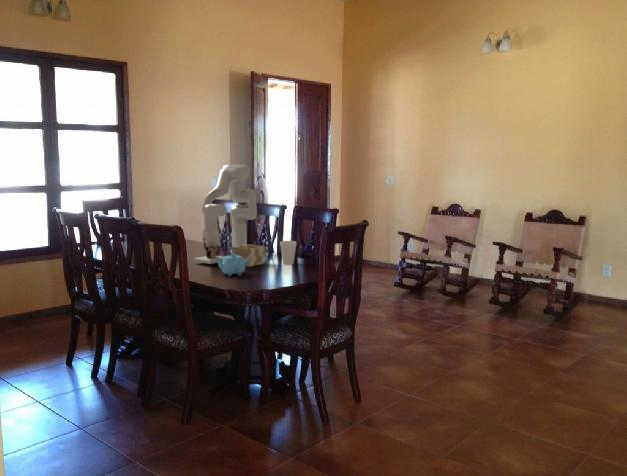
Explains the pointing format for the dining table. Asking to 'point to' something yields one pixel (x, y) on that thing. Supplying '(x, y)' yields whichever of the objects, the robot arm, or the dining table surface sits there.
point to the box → (251, 253)
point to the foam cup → (288, 251)
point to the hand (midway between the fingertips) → (211, 256)
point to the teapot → (233, 264)
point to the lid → (209, 260)
